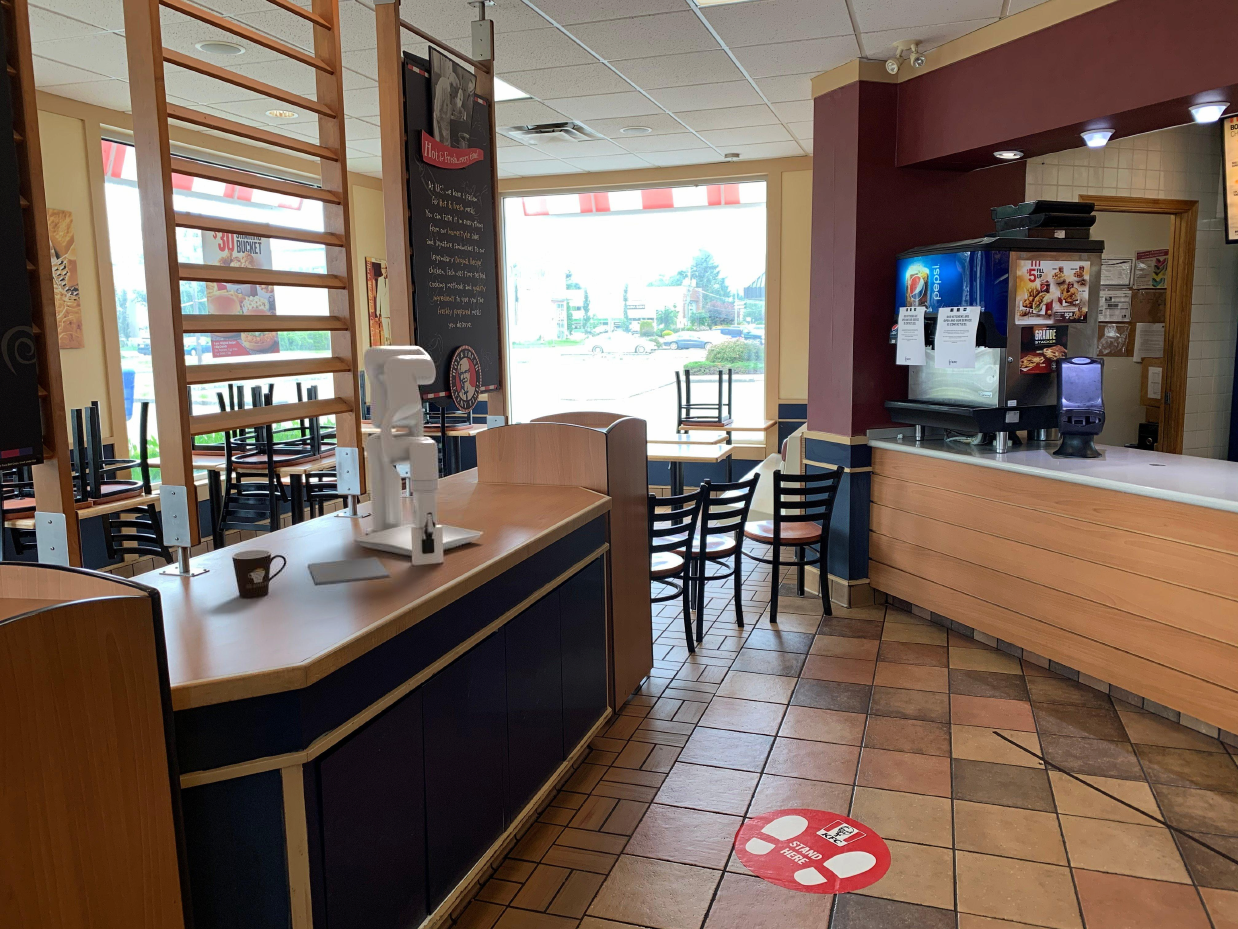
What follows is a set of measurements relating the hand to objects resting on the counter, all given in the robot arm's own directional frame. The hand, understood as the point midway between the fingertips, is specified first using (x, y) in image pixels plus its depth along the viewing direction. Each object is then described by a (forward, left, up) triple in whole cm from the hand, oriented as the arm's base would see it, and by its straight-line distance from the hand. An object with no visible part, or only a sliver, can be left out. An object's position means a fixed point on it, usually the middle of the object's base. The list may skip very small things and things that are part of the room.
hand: (426, 551), depth 240 cm
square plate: (-21, +2, -4) cm, 22 cm away
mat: (0, -21, -3) cm, 21 cm away
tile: (0, 0, -3) cm, 3 cm away
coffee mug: (+13, -43, -3) cm, 45 cm away
